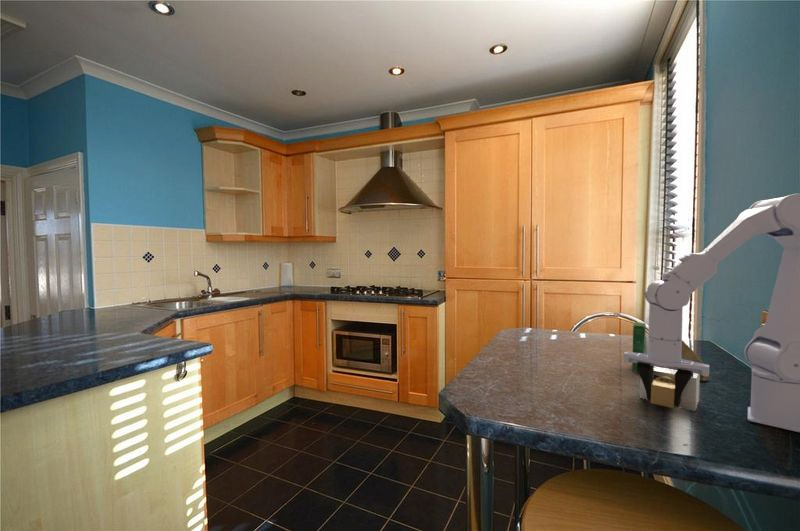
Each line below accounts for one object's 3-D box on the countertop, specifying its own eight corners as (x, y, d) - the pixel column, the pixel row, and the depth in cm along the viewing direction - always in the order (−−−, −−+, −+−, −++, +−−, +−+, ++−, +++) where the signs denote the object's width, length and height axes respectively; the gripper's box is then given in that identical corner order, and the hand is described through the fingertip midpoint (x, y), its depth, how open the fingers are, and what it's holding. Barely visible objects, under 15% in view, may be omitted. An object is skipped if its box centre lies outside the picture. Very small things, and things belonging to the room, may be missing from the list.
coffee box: (633, 364, 111) (634, 320, 111) (645, 366, 109) (646, 322, 109) (631, 371, 105) (632, 325, 104) (643, 373, 103) (644, 326, 102)
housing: (698, 401, 84) (699, 368, 83) (695, 411, 78) (696, 376, 78) (646, 390, 90) (646, 360, 90) (639, 398, 85) (640, 366, 85)
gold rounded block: (656, 390, 88) (656, 367, 88) (686, 397, 84) (686, 372, 84) (646, 405, 80) (646, 379, 79) (678, 413, 76) (679, 386, 76)
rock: (723, 373, 96) (688, 357, 106) (710, 348, 95) (676, 334, 104) (690, 398, 96) (658, 379, 106) (676, 374, 94) (645, 358, 104)
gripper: (620, 335, 80) (619, 398, 81) (708, 347, 70) (705, 418, 71) (628, 330, 85) (627, 389, 86) (711, 341, 75) (708, 407, 76)
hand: (663, 401), depth 79 cm, fingers closed on gold rounded block, 4 cm apart
